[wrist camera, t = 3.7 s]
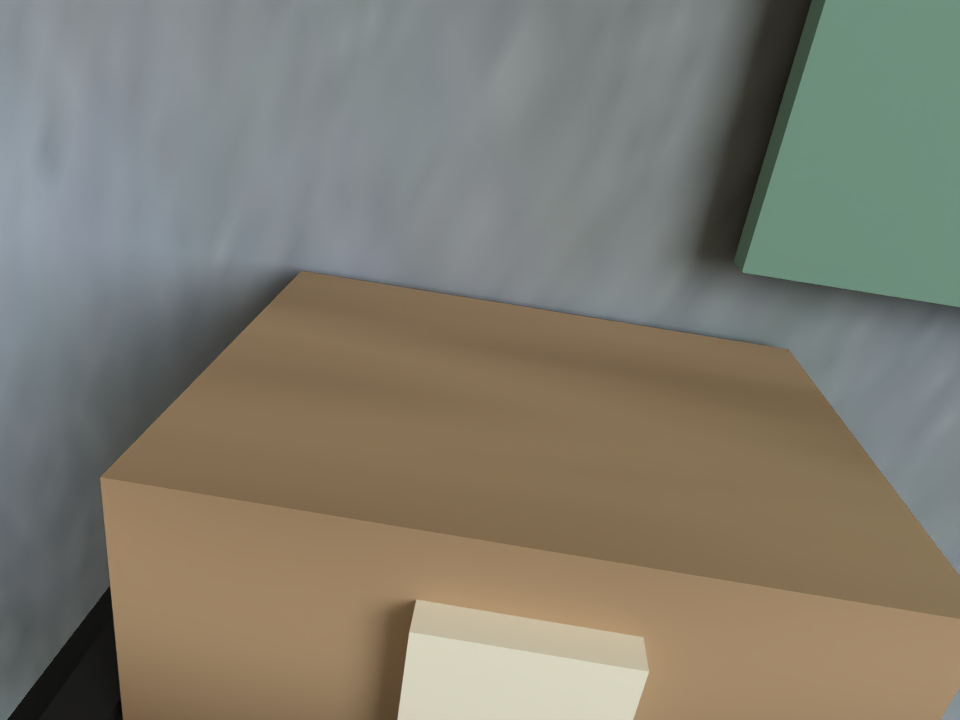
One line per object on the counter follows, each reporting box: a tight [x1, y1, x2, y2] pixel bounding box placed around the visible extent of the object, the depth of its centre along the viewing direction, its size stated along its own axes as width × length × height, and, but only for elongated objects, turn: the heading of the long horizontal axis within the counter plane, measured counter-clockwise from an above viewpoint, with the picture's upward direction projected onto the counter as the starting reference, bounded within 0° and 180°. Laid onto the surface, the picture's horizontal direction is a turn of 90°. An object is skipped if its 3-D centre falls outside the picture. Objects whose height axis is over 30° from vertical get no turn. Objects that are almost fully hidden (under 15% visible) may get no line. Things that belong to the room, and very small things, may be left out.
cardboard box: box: [100, 271, 960, 720], centre depth 8 cm, size 8×6×5 cm
